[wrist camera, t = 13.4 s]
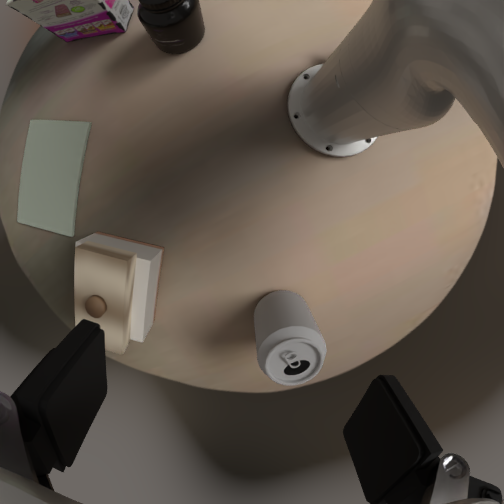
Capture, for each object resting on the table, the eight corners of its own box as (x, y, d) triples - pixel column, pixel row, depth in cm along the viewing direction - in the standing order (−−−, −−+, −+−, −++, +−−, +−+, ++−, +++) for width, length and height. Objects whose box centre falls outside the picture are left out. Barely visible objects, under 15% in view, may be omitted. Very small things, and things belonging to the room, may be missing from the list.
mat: (33, 120, 30) (30, 119, 29) (91, 122, 31) (89, 122, 31) (19, 221, 34) (17, 221, 33) (74, 236, 35) (71, 237, 35)
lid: (88, 240, 29) (70, 249, 26) (137, 253, 30) (123, 264, 26) (86, 327, 32) (73, 343, 28) (130, 342, 33) (119, 359, 29)
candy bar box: (135, 6, 27) (92, -55, 11) (126, 32, 28) (74, -25, 12) (74, 18, 26) (19, -25, 10) (65, 43, 27) (2, 6, 11)
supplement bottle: (165, 63, 30) (135, 23, 18) (149, 29, 28) (119, -14, 16) (214, 41, 29) (203, -7, 18) (195, 8, 28) (180, -42, 16)
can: (265, 342, 40) (273, 399, 29) (244, 300, 38) (246, 351, 27) (314, 323, 40) (337, 375, 28) (296, 278, 38) (319, 322, 26)
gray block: (97, 231, 35) (75, 241, 29) (164, 247, 36) (150, 260, 30) (93, 302, 38) (75, 320, 32) (154, 320, 39) (142, 342, 33)
